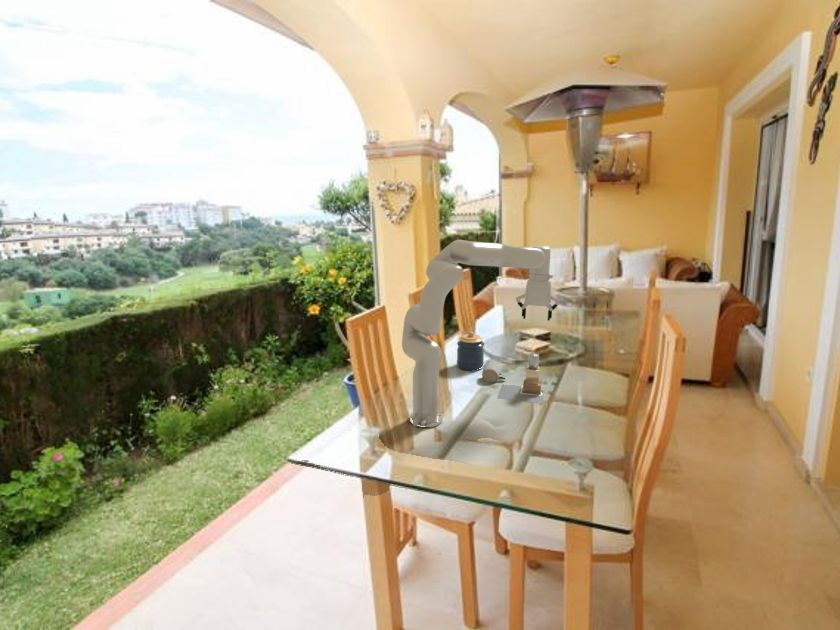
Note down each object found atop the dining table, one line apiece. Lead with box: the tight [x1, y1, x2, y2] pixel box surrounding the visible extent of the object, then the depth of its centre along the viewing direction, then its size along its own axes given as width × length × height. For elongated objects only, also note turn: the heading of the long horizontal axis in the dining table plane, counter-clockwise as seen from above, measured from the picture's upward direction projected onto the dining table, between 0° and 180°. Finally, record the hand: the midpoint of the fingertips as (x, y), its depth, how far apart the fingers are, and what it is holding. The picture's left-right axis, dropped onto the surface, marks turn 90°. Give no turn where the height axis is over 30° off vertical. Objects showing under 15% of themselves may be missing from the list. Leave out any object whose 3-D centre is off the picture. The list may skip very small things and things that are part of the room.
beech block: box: [525, 365, 540, 385], centre depth 203 cm, size 5×5×6 cm
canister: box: [456, 331, 485, 372], centre depth 233 cm, size 13×13×18 cm
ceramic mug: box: [481, 361, 505, 383], centre depth 217 cm, size 11×8×8 cm
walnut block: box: [522, 377, 543, 395], centre depth 204 cm, size 7×7×4 cm
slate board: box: [496, 384, 545, 405], centre depth 203 cm, size 18×18×1 cm
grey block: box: [527, 352, 540, 370], centre depth 202 cm, size 4×4×6 cm
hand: (536, 319), depth 197 cm, fingers open, 9 cm apart
